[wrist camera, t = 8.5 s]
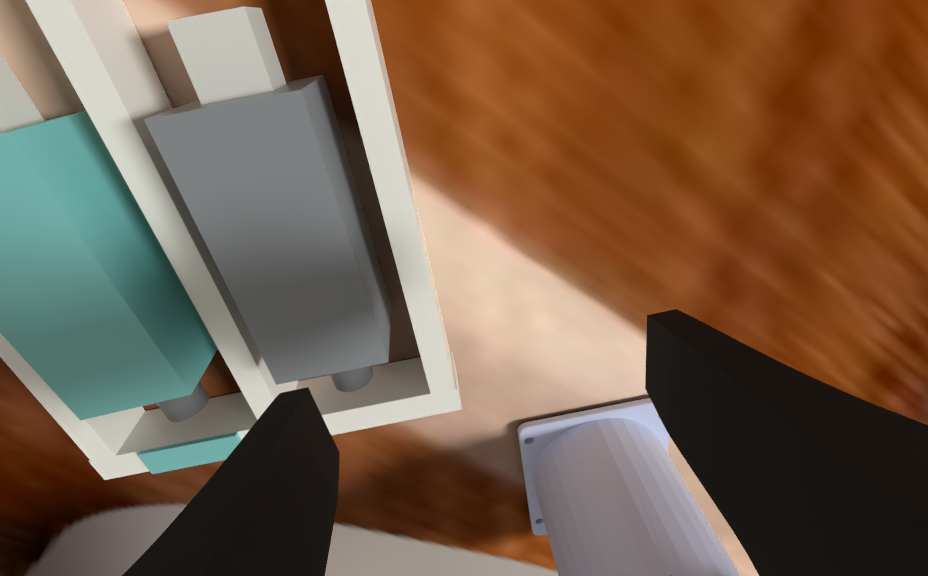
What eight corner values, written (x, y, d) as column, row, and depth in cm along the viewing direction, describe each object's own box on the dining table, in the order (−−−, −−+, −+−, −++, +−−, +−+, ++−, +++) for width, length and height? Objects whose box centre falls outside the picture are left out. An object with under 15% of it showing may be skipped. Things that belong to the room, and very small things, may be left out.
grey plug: (402, 339, 21) (401, 403, 17) (314, 357, 21) (295, 424, 17) (304, 3, 14) (271, -3, 11) (174, 27, 14) (98, 29, 11)
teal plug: (250, 364, 20) (218, 433, 17) (163, 384, 20) (114, 457, 17) (59, 37, 14) (-57, 43, 10) (-69, 68, 14) (-226, 85, 10)
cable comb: (456, 370, 22) (462, 413, 19) (135, 433, 21) (102, 484, 19) (354, -87, 13) (343, -111, 11) (-187, 12, 13) (-319, 10, 10)
